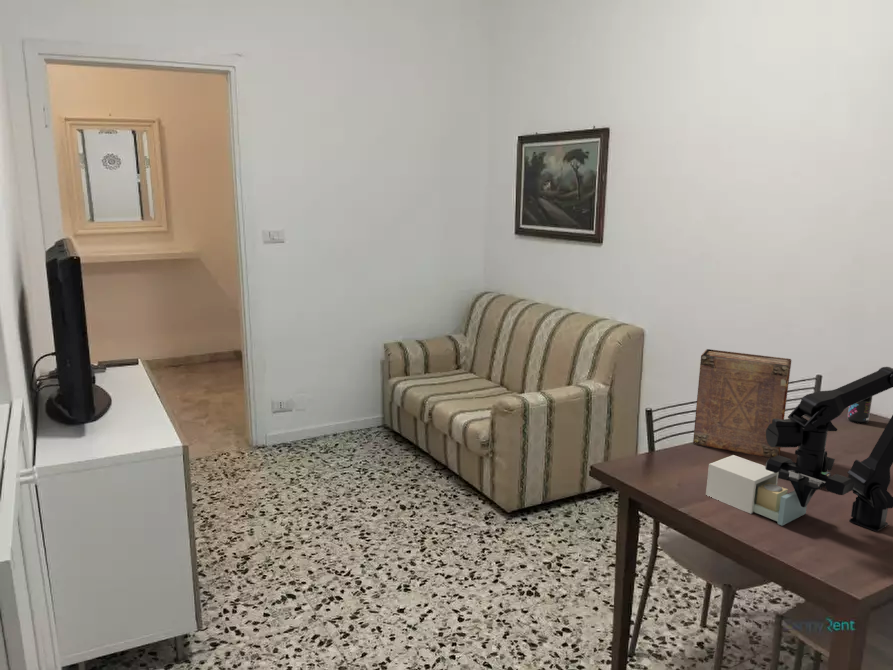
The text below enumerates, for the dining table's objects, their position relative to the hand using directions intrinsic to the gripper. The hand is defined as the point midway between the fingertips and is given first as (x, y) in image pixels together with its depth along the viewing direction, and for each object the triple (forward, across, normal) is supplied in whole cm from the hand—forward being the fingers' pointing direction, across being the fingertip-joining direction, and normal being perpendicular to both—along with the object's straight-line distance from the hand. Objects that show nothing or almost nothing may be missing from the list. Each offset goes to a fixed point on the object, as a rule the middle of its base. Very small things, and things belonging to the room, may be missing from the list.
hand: (803, 506), depth 168 cm
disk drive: (+5, +15, -28) cm, 32 cm away
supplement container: (+5, +28, -95) cm, 99 cm away
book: (+5, +38, -34) cm, 52 cm away
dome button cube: (+3, +8, 0) cm, 9 cm away
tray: (+4, +8, 0) cm, 9 cm away
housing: (+4, +16, 0) cm, 17 cm away
